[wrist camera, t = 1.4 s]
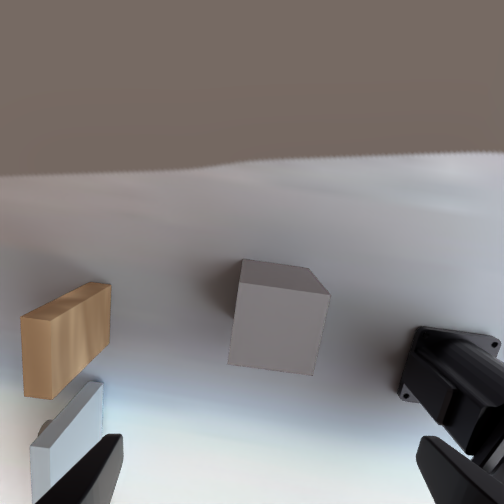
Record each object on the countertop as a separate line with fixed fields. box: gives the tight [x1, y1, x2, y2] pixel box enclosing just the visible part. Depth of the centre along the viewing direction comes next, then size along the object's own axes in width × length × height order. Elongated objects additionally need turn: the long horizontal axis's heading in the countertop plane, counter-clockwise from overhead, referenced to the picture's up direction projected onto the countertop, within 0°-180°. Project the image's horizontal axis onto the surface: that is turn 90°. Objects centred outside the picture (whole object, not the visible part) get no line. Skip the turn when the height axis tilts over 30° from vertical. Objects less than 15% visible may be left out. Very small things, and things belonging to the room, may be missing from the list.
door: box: [30, 381, 104, 504], centre depth 19 cm, size 2×11×6 cm, turn 172°
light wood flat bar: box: [20, 282, 111, 400], centre depth 18 cm, size 2×23×7 cm, turn 172°
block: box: [227, 259, 331, 376], centre depth 16 cm, size 5×5×6 cm
